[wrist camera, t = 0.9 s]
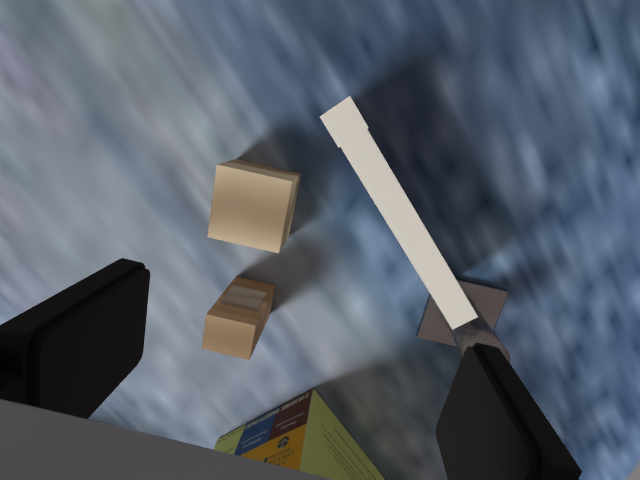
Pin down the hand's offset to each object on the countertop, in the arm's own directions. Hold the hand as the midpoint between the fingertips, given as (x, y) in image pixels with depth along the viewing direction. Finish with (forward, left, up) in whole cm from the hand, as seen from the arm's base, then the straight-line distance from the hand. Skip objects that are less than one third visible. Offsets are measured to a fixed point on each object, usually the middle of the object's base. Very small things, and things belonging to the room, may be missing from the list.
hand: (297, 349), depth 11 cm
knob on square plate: (+5, +11, -16) cm, 20 cm away
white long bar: (-2, +4, -16) cm, 17 cm away
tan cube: (0, -5, -17) cm, 17 cm away
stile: (+7, -4, -16) cm, 18 cm away
